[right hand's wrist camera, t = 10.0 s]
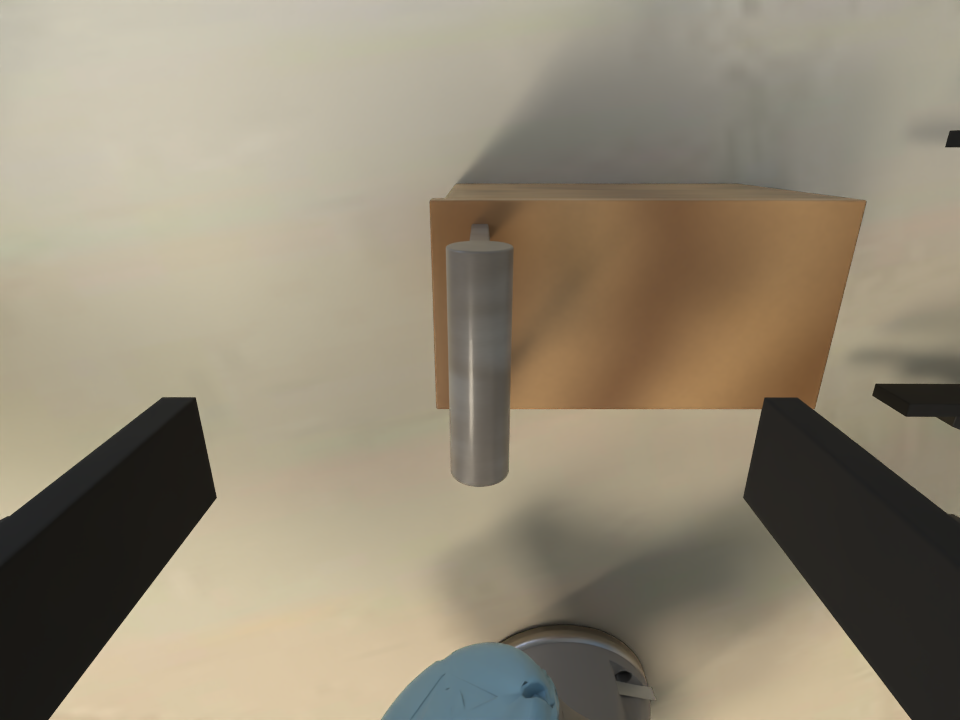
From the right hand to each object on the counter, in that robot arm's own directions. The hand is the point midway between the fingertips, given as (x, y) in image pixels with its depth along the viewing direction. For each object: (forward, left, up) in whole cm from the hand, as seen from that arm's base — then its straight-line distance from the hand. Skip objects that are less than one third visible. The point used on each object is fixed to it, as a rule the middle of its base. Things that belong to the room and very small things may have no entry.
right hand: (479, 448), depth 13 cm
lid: (+4, -5, -12) cm, 14 cm away
